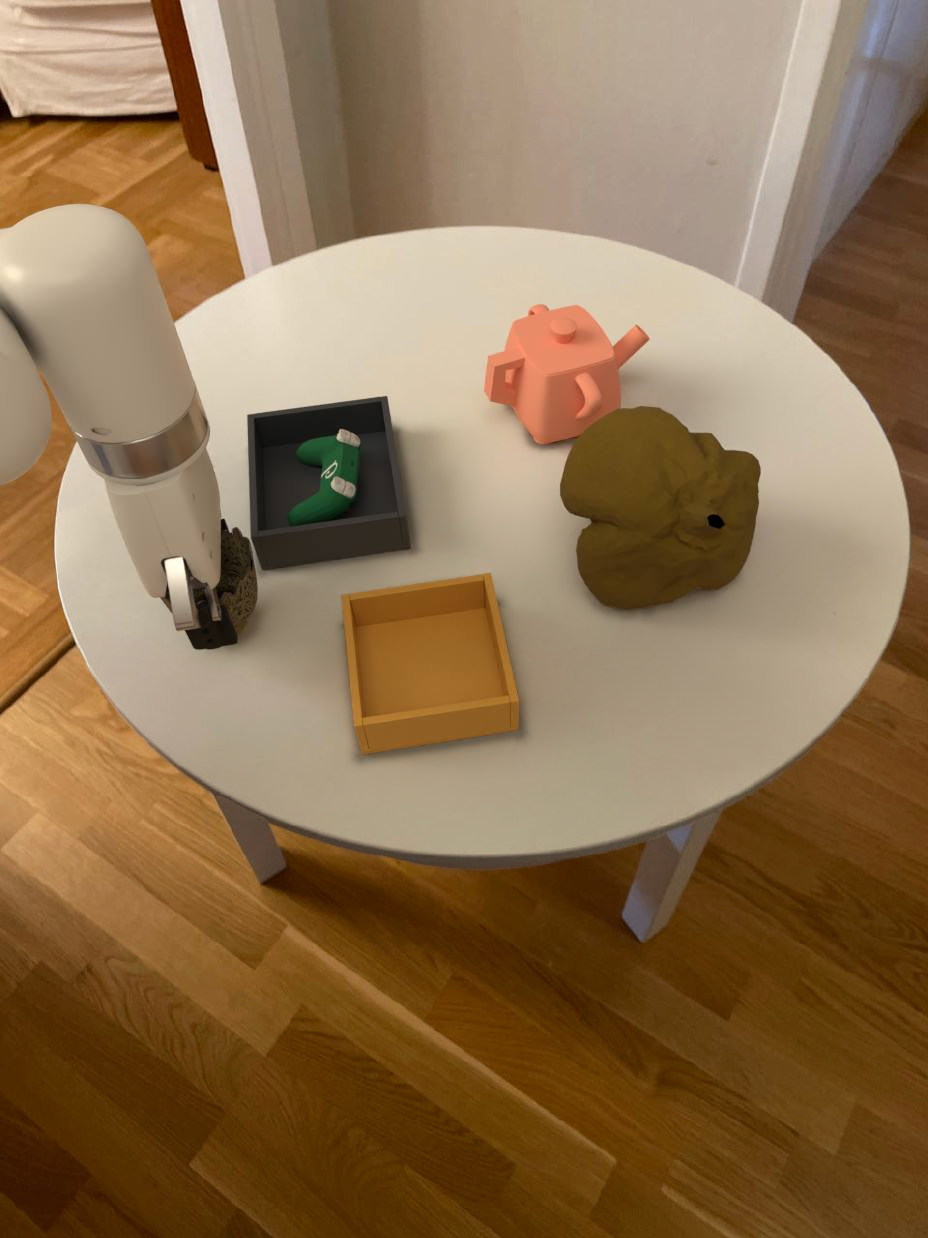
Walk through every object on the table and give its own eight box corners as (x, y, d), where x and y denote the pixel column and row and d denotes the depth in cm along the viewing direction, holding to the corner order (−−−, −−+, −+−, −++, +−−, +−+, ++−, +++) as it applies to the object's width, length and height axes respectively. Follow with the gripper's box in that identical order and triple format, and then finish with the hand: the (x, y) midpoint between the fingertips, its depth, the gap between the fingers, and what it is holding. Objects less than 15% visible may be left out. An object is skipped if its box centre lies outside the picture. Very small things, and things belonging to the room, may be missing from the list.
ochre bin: (361, 755, 65) (354, 726, 62) (348, 626, 72) (340, 594, 68) (518, 730, 66) (519, 700, 63) (491, 605, 72) (490, 572, 69)
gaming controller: (318, 547, 78) (363, 512, 74) (281, 526, 76) (325, 489, 72) (328, 468, 83) (370, 432, 80) (293, 446, 81) (335, 408, 78)
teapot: (644, 391, 86) (658, 301, 78) (591, 474, 80) (601, 386, 72) (531, 355, 90) (534, 265, 82) (473, 432, 84) (470, 343, 76)
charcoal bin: (261, 570, 75) (250, 537, 72) (257, 448, 84) (246, 414, 80) (411, 549, 76) (406, 515, 73) (392, 430, 84) (387, 395, 81)
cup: (160, 647, 71) (125, 584, 65) (209, 576, 75) (181, 509, 69) (245, 676, 69) (218, 614, 63) (291, 602, 73) (270, 535, 67)
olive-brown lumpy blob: (699, 658, 69) (739, 532, 57) (527, 585, 73) (533, 455, 62) (761, 534, 76) (808, 400, 64) (601, 475, 80) (618, 340, 69)
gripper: (88, 339, 60) (169, 521, 75) (63, 541, 50) (162, 707, 64) (205, 323, 61) (263, 507, 75) (203, 521, 51) (270, 690, 65)
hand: (216, 598), depth 70 cm, fingers closed on cup, 7 cm apart
